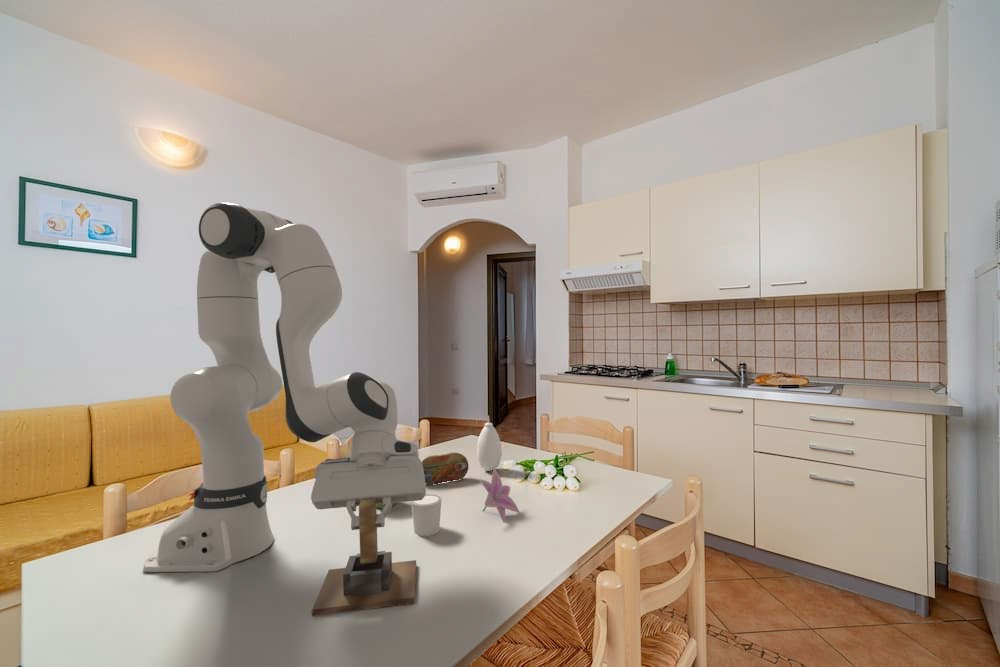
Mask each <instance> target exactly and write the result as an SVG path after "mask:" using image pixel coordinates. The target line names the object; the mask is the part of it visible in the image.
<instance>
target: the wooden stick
mask: <svg viewBox="0 0 1000 667" xmlns="http://www.w3.org/2000/svg"><path fill="white" fill-rule="evenodd" d="M376 514H378V512H377V508H376V499H369V500H361V501H360V504H359V506H358V516H359V529H358V530H359V554H360V564H364V563H373V562H376V560H377V556H378V552H379V549H378V547H379V546H378V527H376V526H375V520H376V519H375V516H376Z"/></svg>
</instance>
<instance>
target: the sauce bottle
mask: <svg viewBox="0 0 1000 667" xmlns="http://www.w3.org/2000/svg"><path fill="white" fill-rule="evenodd" d="M502 451H503V450H502V442H501V439H500V435H499V433H498V431H497V430H496V428H495V427H494V424H493V423H492V422H490V416H489V415H487V422H486V423H485V422H484V427H483V428H482V429H481V431H480V433H479V436H478V440H477V445H476V456H477V460H478V463H479V465H480V468H482V469H484V471H486V472H488V471H491V472H493V471H492V470H493V469H495V470H496V468H498V467H499V466H500V462H501V460H502V454H503V452H502Z"/></svg>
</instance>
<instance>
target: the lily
mask: <svg viewBox="0 0 1000 667" xmlns="http://www.w3.org/2000/svg"><path fill="white" fill-rule="evenodd" d="M479 481H480V483H481V485H482V486H483V487H484V489H485V490H486V492H487V496H486V499H485V500H484V508H483V509H482V512H483V511H484V512H485V511H486V508H496V509H497V512H498V514H499V517H500V518H501V521H502V522H505V519H506V510H509V511H511V512H515V513H518V514H519V512H520V510H519V508H518V506H517V504H516V503H515V501H514V500H513V499H512V497H510V496H509V495H510V492H511V487H510V486H508V485H503V482H502V480H501V476H500V474H498V471H497V470H496V468H495V469H493V471H492V476H491V482H489V481H487V480H485V479H479Z"/></svg>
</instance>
